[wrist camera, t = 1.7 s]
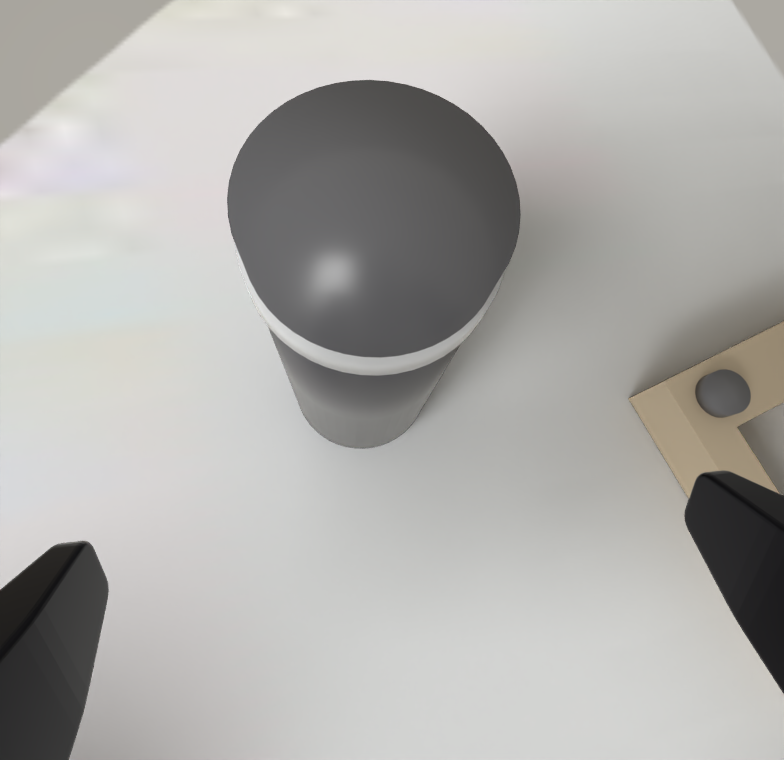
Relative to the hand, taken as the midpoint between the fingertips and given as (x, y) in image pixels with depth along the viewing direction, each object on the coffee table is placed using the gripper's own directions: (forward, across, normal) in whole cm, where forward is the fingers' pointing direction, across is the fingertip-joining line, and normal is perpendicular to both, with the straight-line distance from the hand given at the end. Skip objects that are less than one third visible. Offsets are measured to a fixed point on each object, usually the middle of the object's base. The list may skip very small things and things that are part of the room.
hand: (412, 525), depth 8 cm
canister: (+12, 0, +4) cm, 13 cm away
